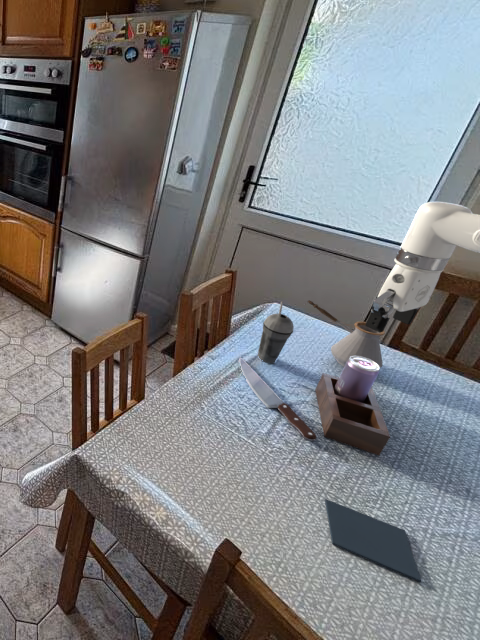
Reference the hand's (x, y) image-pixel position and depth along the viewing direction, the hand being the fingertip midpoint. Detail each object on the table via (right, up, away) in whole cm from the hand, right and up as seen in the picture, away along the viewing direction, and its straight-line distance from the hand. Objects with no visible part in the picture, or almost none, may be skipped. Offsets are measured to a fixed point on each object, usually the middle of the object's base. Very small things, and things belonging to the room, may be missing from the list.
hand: (387, 325), depth 96 cm
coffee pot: (+13, -14, +30) cm, 36 cm away
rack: (-3, -25, +7) cm, 26 cm away
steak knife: (-16, -22, +15) cm, 31 cm away
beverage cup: (-7, -15, +29) cm, 34 cm away
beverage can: (-1, -24, +11) cm, 26 cm away
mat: (-22, -37, -18) cm, 47 cm away
